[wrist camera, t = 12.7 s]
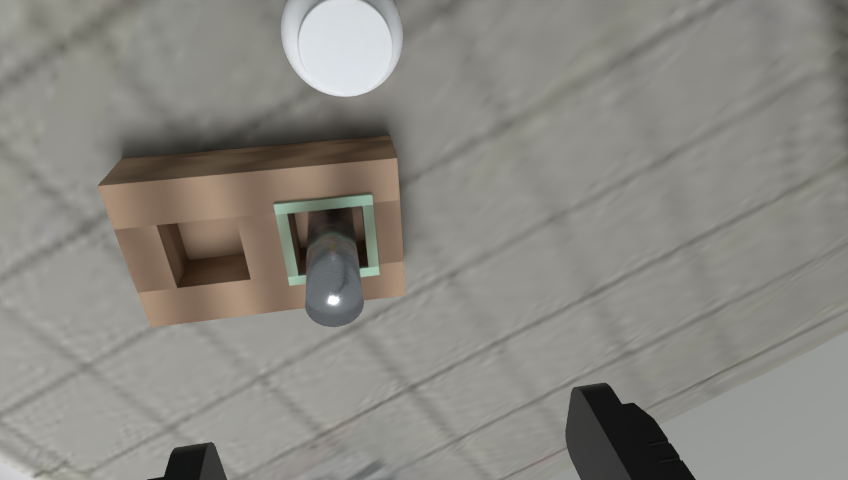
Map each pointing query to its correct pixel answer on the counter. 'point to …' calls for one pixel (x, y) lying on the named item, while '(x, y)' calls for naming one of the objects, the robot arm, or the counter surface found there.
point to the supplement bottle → (342, 43)
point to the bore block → (250, 224)
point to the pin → (332, 268)
